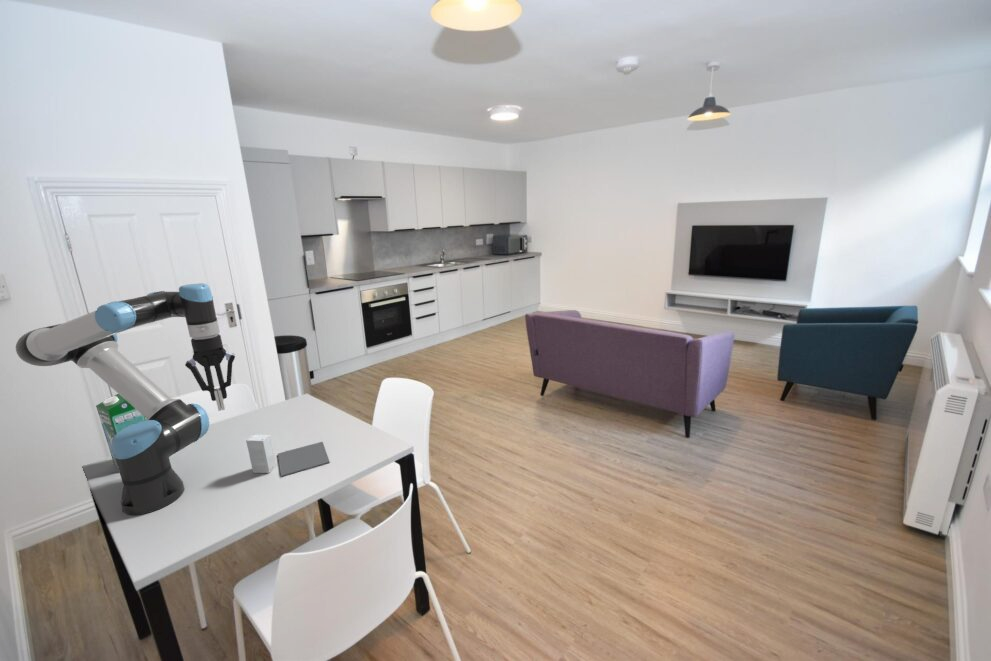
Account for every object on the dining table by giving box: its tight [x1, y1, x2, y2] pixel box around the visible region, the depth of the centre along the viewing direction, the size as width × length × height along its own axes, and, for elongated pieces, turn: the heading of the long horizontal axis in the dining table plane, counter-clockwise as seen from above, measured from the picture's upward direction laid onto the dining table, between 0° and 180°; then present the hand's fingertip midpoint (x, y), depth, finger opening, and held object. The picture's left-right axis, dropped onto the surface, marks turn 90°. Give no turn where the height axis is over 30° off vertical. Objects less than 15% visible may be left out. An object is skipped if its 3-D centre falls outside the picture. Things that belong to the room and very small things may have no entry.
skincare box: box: [245, 434, 277, 474], centre depth 143 cm, size 6×4×12 cm
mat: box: [277, 441, 331, 478], centre depth 150 cm, size 15×16×1 cm
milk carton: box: [95, 393, 146, 467], centre depth 150 cm, size 9×9×25 cm
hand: (221, 408), depth 135 cm, fingers closed
